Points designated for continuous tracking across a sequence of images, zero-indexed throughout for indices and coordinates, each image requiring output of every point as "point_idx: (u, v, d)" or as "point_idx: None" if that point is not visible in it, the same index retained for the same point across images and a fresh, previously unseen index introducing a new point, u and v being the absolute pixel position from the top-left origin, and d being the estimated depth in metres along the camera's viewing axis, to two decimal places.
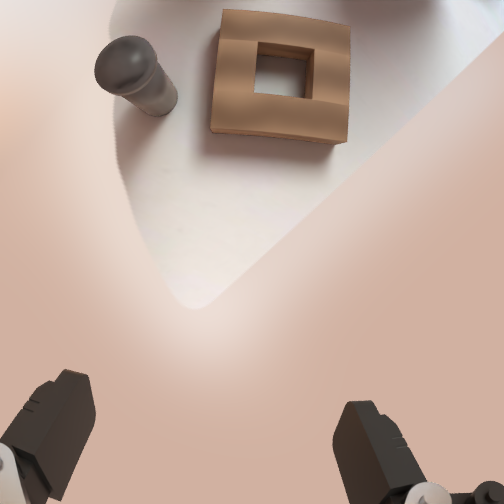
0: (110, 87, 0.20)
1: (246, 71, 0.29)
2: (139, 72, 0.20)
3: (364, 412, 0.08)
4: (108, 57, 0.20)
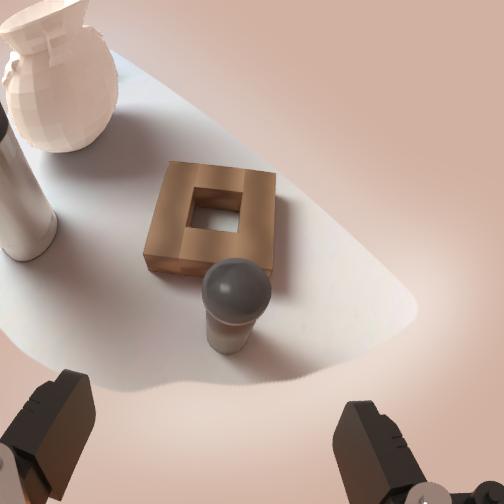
0: (263, 301, 0.23)
1: (216, 237, 0.36)
2: (250, 271, 0.24)
3: (364, 412, 0.08)
4: (225, 305, 0.22)
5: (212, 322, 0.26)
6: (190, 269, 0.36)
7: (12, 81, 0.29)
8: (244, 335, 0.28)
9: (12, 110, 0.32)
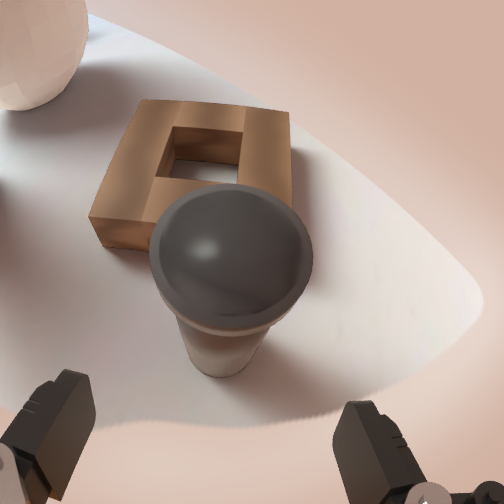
0: (297, 276, 0.09)
1: None
2: (263, 211, 0.11)
3: (364, 412, 0.08)
4: (204, 286, 0.09)
5: (183, 327, 0.12)
6: None
7: None
8: (249, 351, 0.14)
9: None
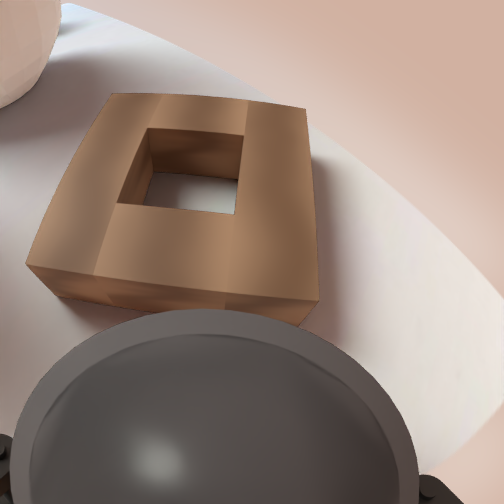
0: None
1: (183, 224, 0.15)
2: (304, 404, 0.03)
3: None
4: None
5: None
6: (128, 298, 0.15)
7: None
8: None
9: None
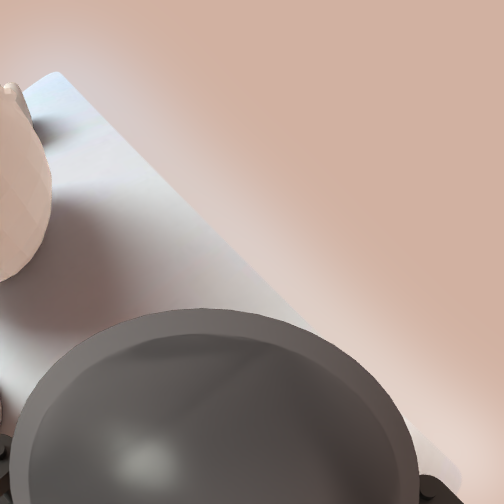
0: None
1: None
2: (304, 404, 0.03)
3: None
4: None
5: None
6: None
7: None
8: None
9: None
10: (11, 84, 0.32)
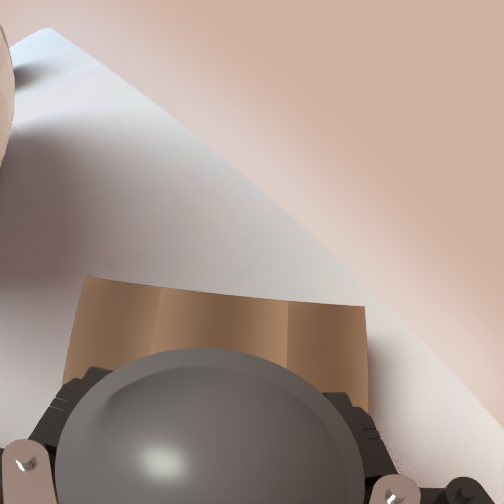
0: None
1: None
2: (273, 417, 0.04)
3: (337, 403, 0.08)
4: None
5: None
6: None
7: None
8: None
9: None
10: None
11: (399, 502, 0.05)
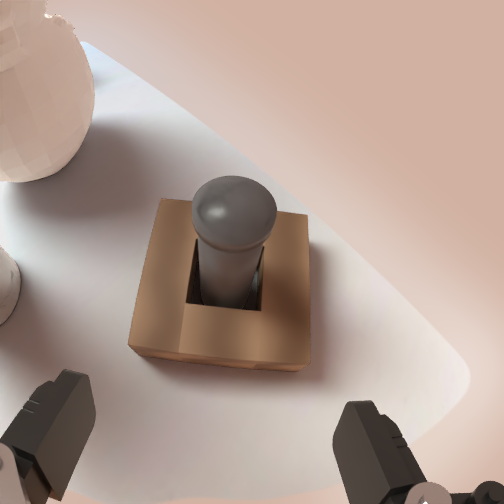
0: (268, 222, 0.19)
1: (230, 318, 0.25)
2: (251, 190, 0.20)
3: (364, 412, 0.08)
4: (220, 225, 0.18)
5: (205, 259, 0.21)
6: (195, 360, 0.25)
7: None
8: (244, 280, 0.23)
9: None
10: None
11: None
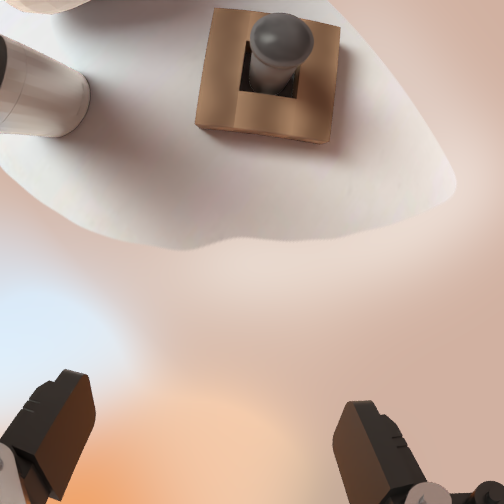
0: (306, 51, 0.21)
1: (273, 103, 0.30)
2: (295, 25, 0.21)
3: (364, 412, 0.08)
4: (272, 51, 0.21)
5: (257, 66, 0.25)
6: (244, 131, 0.33)
7: None
8: (285, 79, 0.27)
9: None
10: None
11: None
